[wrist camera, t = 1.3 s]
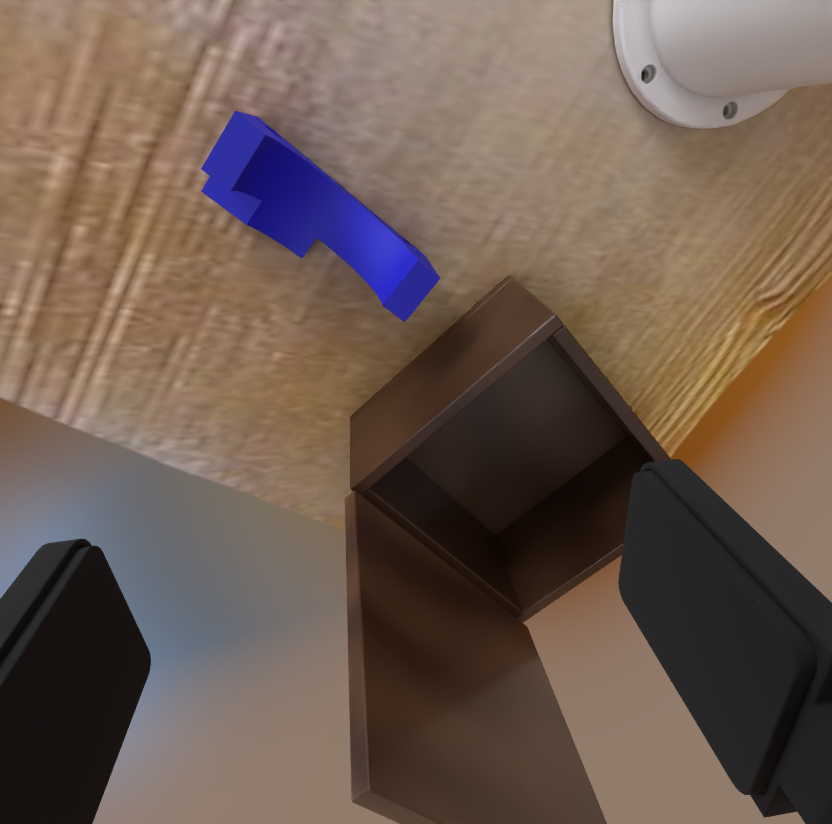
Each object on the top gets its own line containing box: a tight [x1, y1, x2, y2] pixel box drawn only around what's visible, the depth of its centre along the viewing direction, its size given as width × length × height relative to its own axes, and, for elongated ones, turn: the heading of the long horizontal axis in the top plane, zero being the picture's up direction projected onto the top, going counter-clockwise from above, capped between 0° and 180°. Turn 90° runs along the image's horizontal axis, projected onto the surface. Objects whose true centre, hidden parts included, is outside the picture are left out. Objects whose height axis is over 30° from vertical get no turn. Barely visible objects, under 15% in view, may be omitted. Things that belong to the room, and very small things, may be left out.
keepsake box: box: [350, 276, 671, 623], centre depth 35 cm, size 15×17×9 cm
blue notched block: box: [201, 111, 440, 322], centre depth 29 cm, size 12×4×6 cm, turn 51°
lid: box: [345, 491, 607, 824], centre depth 26 cm, size 16×17×5 cm
